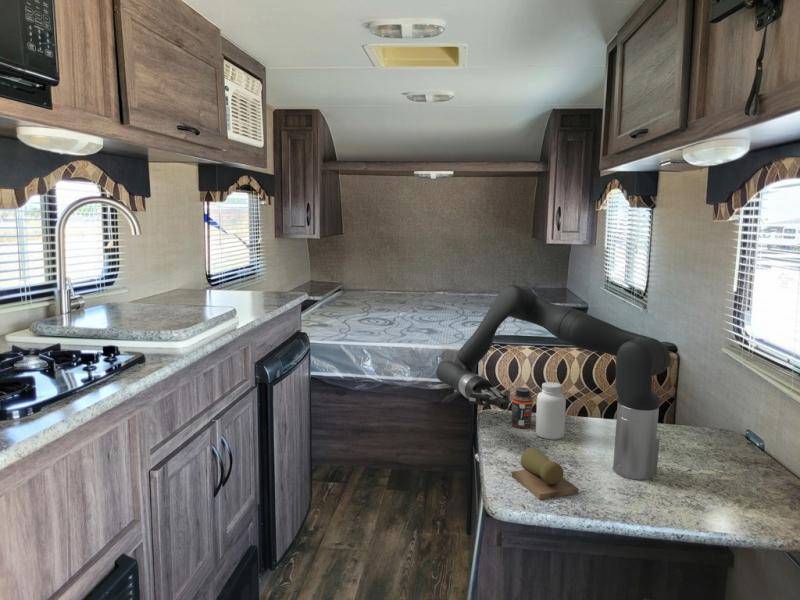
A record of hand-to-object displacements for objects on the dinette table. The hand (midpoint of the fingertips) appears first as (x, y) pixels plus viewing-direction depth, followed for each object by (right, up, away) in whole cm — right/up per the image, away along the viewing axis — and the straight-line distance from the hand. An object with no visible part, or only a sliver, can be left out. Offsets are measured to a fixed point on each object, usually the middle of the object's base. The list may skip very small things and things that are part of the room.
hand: (505, 406), depth 149 cm
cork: (+5, -11, -10) cm, 15 cm away
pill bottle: (+15, -11, +15) cm, 24 cm away
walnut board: (+6, -15, -16) cm, 23 cm away
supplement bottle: (+9, -10, +22) cm, 26 cm away
